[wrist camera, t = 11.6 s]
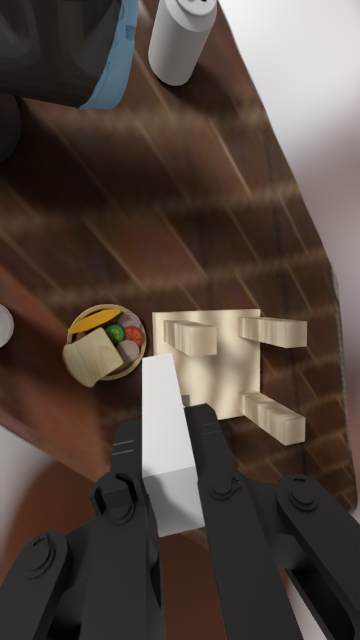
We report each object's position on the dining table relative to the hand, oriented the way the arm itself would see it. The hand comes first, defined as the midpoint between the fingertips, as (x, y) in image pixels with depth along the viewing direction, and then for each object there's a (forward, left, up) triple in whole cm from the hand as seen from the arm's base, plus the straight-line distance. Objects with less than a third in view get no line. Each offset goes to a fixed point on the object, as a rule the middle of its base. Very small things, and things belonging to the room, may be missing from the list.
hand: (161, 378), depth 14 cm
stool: (+17, -8, -33) cm, 37 cm away
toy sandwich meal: (-1, -3, -33) cm, 33 cm away
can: (+11, +43, -33) cm, 55 cm away
